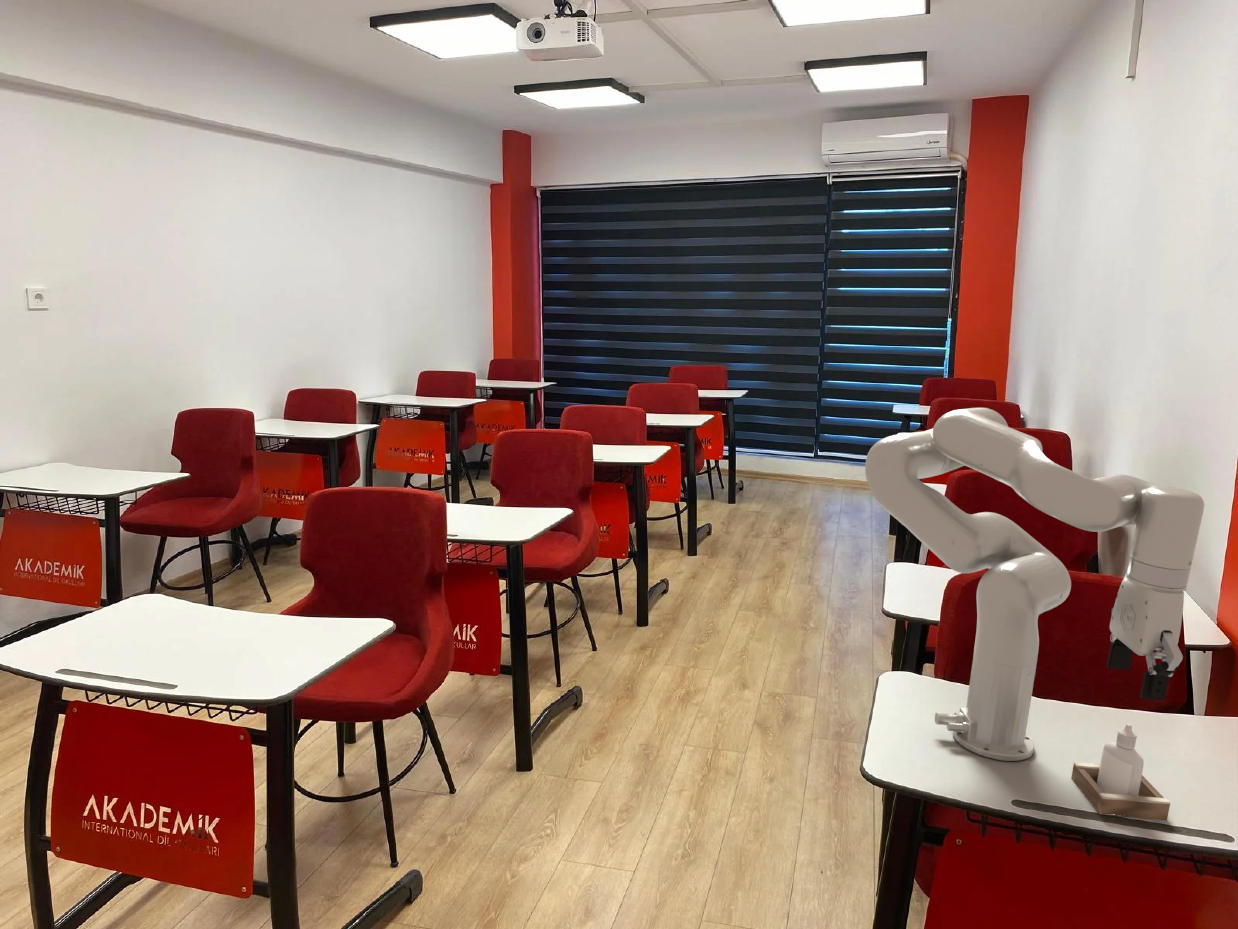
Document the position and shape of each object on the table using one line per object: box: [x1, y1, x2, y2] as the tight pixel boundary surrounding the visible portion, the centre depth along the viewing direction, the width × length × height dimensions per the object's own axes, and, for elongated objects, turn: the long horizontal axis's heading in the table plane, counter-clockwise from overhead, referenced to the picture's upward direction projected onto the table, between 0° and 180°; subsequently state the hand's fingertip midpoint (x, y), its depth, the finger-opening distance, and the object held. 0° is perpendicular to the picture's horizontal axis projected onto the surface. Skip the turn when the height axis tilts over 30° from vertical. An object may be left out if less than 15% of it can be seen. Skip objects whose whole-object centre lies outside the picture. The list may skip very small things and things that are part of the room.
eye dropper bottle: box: [1097, 722, 1145, 796], centre depth 130 cm, size 4×6×12 cm
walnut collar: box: [1070, 761, 1171, 821], centre depth 131 cm, size 10×10×3 cm
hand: (1134, 683), depth 128 cm, fingers open, 9 cm apart
